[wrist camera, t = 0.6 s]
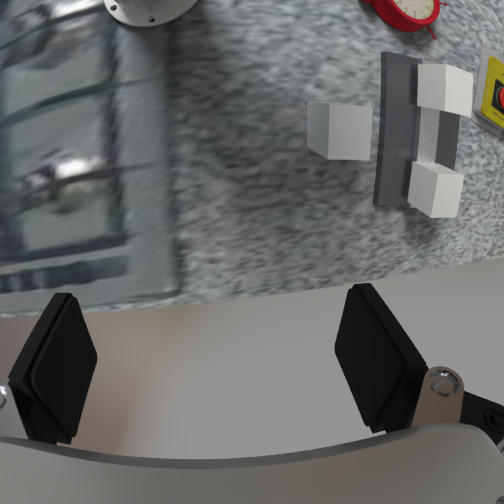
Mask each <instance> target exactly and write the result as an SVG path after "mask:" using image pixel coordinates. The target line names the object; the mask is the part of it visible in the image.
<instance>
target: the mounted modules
mask: <svg viewBox="0 0 504 504" xmlns="http://www.w3.org/2000/svg"><path fill="white" fill-rule="evenodd" d="M472 87H473V74H472V73H470V72H467V71H464V70H461V69H458V68H456V67H453V66H450V65H447V64H418V98H417V106H421V107H426V108H431V109H436V110H441V111H446V112H450V113H455V114H459V115H463V116H468V117H471V110H472ZM463 180H464V175H462V174H460V173H458V172H456V171H453V170H451V169H449V168H447V167H445V166H443V165H440V164H437V163H426V162H413V163H412V172H411V179H410V187H409V194H408V200H407V202H409V203H410V204H412V205H413V206H414V207H416V208H417V209H419V210H420V211H422V212H423V213H424V214H426V215H427V216H429V217H430V218H444V217H456V216H457V211H458V206H459V202H460V196H461V191H462V186H463Z"/></svg>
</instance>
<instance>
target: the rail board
mask: <svg viewBox="0 0 504 504" xmlns="http://www.w3.org/2000/svg"><path fill="white" fill-rule="evenodd" d="M418 64H439V63H435V62H432V61H428V60H425V59H416V58H413V57H409V56H405V55H400V54H396V53H392V52H387V51H386V52H381V110H380V130H379V145H378V158H377V169H376V179H375V188H374V197H373V203H374V204H376V205H377V206H401V205H407V206H408V207H410V208H416V207H414V206H413V205H412V204H410V203H409V202H407V200H408V194H409V187H410V179H411V172H412V163H413V162H426V163H437V164H440V165H443V166H445V167H447V168H449V169H451V170H453V171H454V165H455V158H456V150H457V141H458V131H459V119H460V115H459V114H455V113H450V112H446V111H441V110H436V109H431V108H426V107H421V106H417V98H418Z"/></svg>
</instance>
